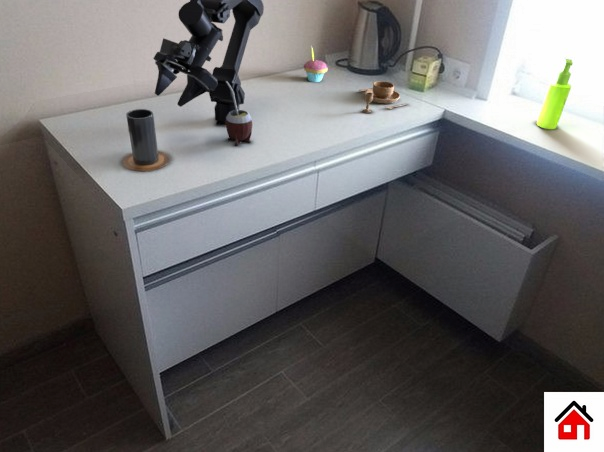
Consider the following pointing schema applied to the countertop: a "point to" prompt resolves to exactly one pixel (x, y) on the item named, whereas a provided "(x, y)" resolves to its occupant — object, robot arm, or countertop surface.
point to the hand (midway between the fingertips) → (167, 100)
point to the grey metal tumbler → (142, 136)
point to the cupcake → (315, 69)
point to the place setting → (381, 94)
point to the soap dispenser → (555, 98)
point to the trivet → (160, 163)
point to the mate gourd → (238, 124)
